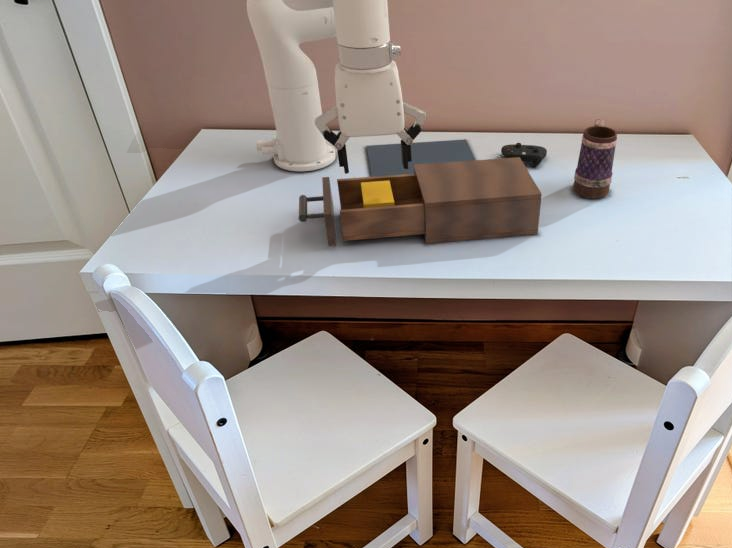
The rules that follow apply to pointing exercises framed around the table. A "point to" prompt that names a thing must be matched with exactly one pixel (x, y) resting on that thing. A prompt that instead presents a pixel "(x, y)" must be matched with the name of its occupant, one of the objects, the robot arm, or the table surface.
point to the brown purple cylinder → (595, 161)
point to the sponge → (377, 194)
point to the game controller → (525, 153)
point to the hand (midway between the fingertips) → (376, 168)
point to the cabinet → (478, 199)
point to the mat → (416, 156)
